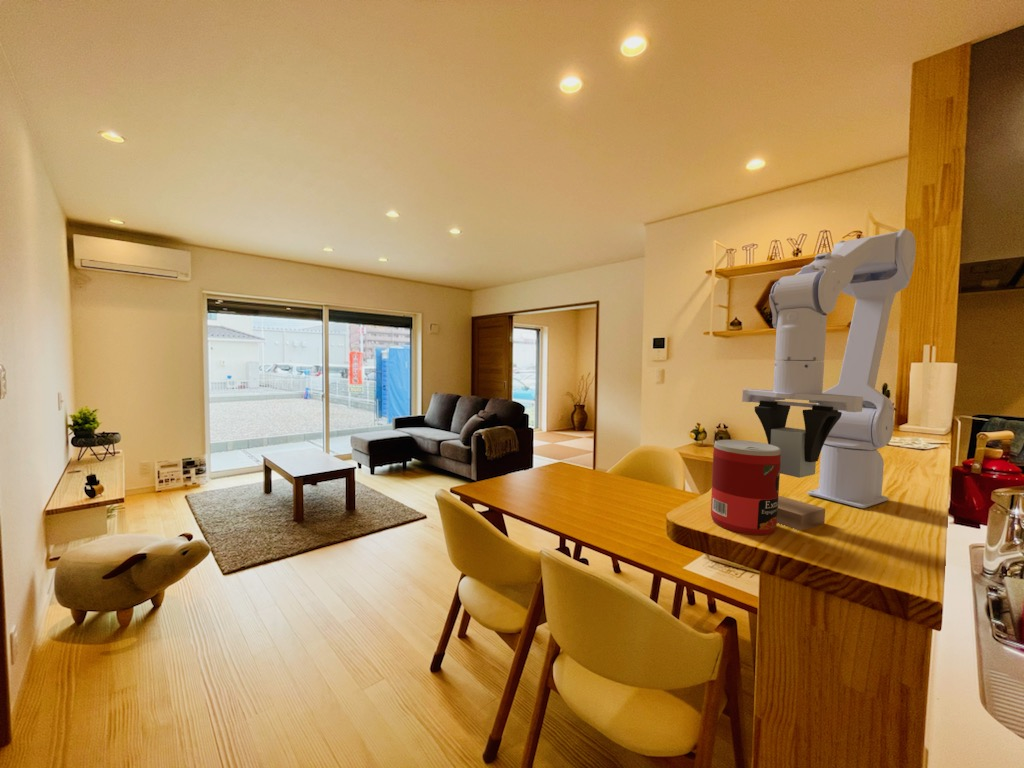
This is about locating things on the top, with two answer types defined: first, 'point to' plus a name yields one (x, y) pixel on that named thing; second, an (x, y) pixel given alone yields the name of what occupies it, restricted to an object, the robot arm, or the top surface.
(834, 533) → the top surface
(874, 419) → the robot arm
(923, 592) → the top surface
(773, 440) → the grey block
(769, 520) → the canned food
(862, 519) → the top surface
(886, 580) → the top surface
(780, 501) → the walnut block
